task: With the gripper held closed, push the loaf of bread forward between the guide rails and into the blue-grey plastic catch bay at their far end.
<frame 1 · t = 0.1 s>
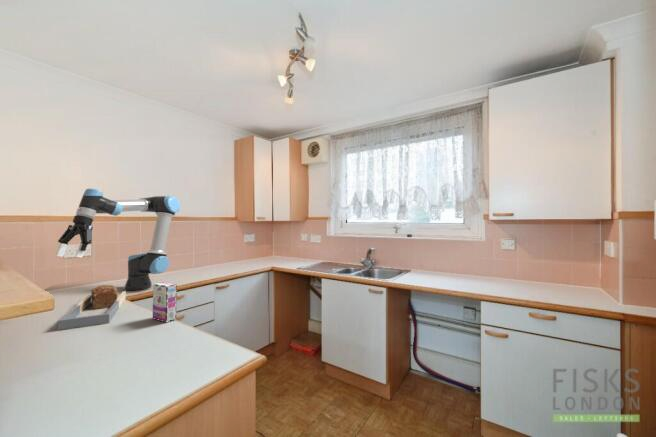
hand: (68, 257, 135), 28 cm above the counter, tool tilted 20°, fingers open, 13 cm apart
candy bar box: (164, 319, 126), on the counter
catch bay: (98, 310, 138), on the counter
bread: (104, 304, 149), on the counter
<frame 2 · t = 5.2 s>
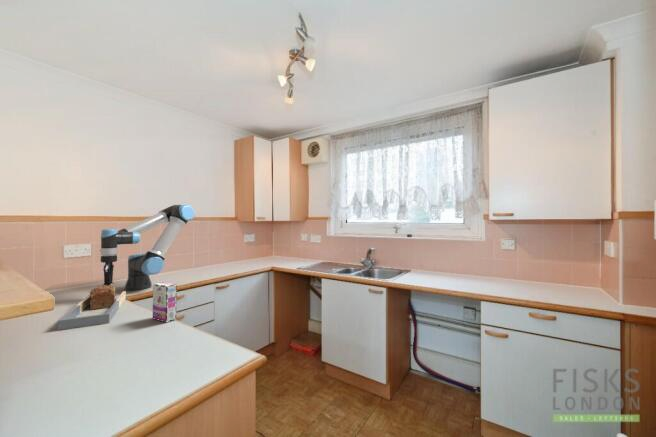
hand: (108, 295, 159), 2 cm above the counter, tool pointing down, fingers closed
bread: (102, 305, 148), on the counter, touching gripper
everything else where it was.
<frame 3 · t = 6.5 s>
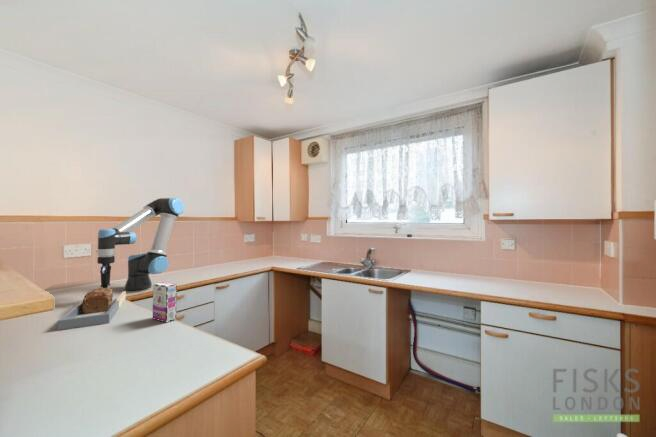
hand: (105, 297, 153), 2 cm above the counter, tool pointing down, fingers closed
bread: (98, 308, 142), on the counter
everything else where it was.
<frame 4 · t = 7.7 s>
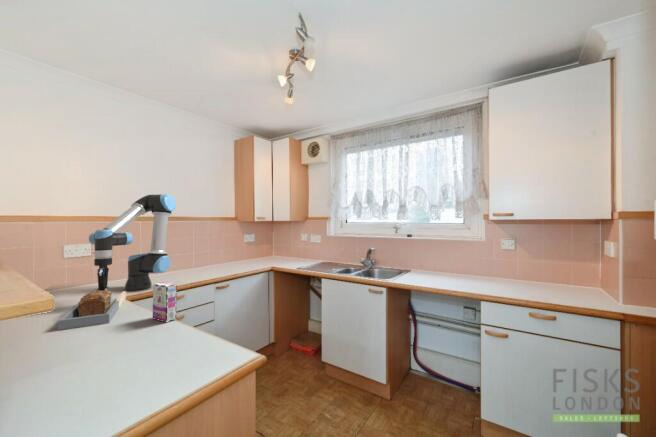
hand: (102, 301, 147), 2 cm above the counter, tool pointing down, fingers closed
bread: (95, 312, 136), on the counter
everything else where it was.
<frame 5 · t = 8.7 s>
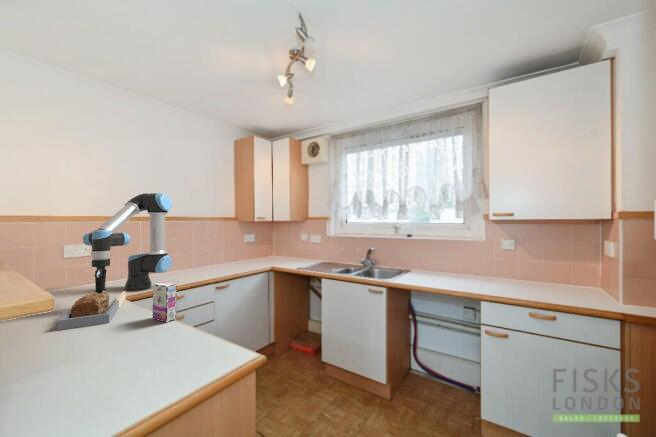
hand: (100, 303, 142), 2 cm above the counter, tool pointing down, fingers closed
bread: (91, 316, 131), on the counter
everything else where it was.
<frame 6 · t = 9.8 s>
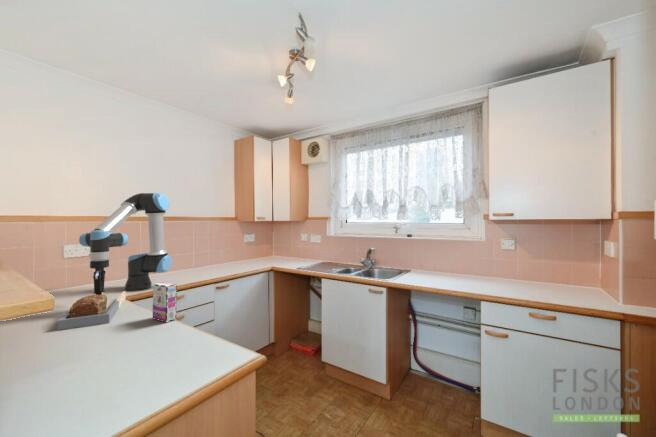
hand: (99, 305, 140), 2 cm above the counter, tool pointing down, fingers closed
bread: (89, 318, 128), on the counter
everything else where it was.
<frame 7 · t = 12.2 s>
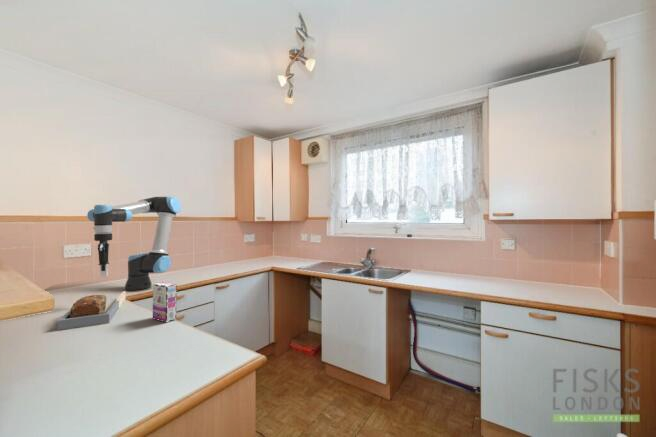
hand: (104, 276, 147), 16 cm above the counter, tool pointing down, fingers closed
nothing on the counter moved.
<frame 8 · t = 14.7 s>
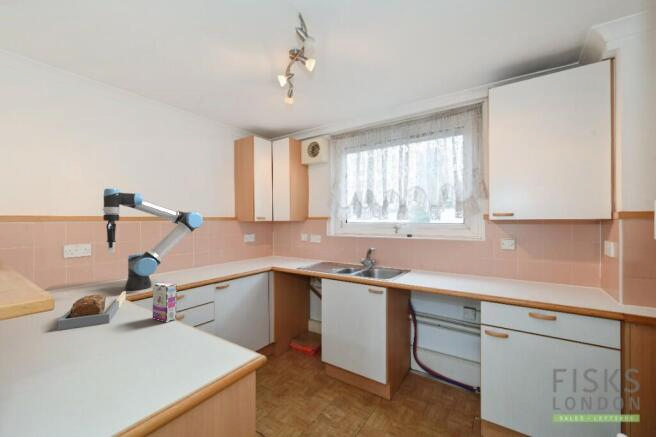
hand: (111, 253, 164), 26 cm above the counter, tool pointing down, fingers closed
nothing on the counter moved.
at the end: bread inside the target area (1.8 cm from its centre), on the counter; bread tilted 0°; bread moved 23.3 cm from its start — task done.
